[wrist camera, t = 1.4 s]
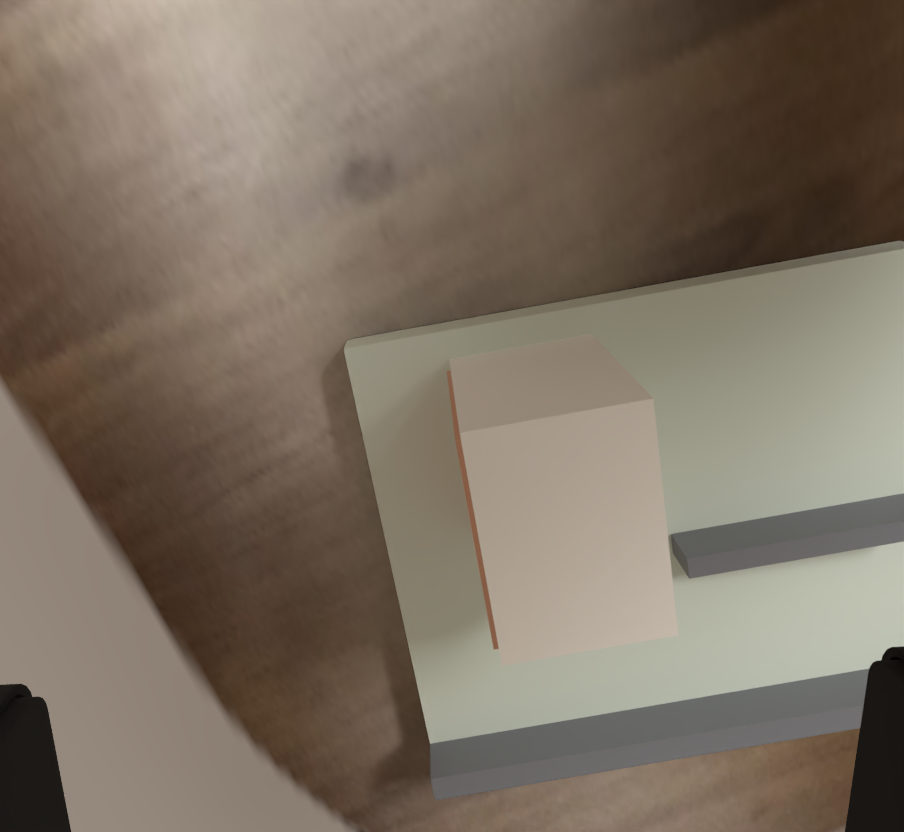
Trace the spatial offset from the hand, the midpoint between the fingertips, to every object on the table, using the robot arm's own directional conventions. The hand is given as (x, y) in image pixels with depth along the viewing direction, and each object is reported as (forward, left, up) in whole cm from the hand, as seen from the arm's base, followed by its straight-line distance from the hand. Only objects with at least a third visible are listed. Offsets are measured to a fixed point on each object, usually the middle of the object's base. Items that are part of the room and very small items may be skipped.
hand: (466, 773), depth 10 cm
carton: (-3, +4, -20) cm, 21 cm away
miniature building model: (-7, +8, -22) cm, 24 cm away
